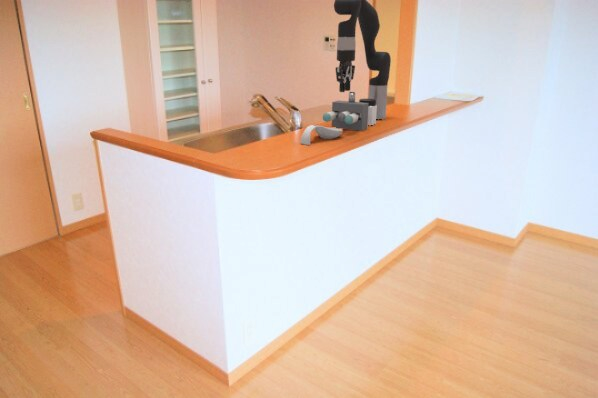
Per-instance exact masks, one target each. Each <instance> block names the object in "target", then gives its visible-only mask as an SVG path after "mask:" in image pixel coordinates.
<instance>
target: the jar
mask: <svg viewBox="0 0 598 398" xmlns="http://www.w3.org/2000/svg"><path fill="white" fill-rule="evenodd" d="M358 102H362V103H369V104H368V124H367V125H373V126H375V125H374V124H376V125H377V120H376V114H377V105H376V99H368V98H360V99H359V100H358ZM360 115H361V114H360ZM360 118H361V117H360Z"/></svg>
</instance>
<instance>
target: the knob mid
mask: <svg viewBox="0 0 598 398" xmlns="http://www.w3.org/2000/svg"><path fill="white" fill-rule="evenodd" d="M347 115H350V112H348V111H345V112H342V113H339V114H338V120H339V121H341V122H343V121H345V117H346V116H347Z"/></svg>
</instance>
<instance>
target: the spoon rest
mask: <svg viewBox="0 0 598 398" xmlns="http://www.w3.org/2000/svg"><path fill="white" fill-rule="evenodd" d="M313 131H315V132H316V134H317V135H318V136H319V137H320V138H321V139H323V140H334V139H336V138H338V137H340V136H341V134H342V133H343V131H344V129H338V128H332V127H326V126H322V125H313V124H310V125H308V126H307V127H306V128H305V129H304V131H303V132H302V135H301V137H300V142H299V144H300V145H306V146H310V145H311V135H312V133H313Z"/></svg>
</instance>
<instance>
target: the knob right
mask: <svg viewBox="0 0 598 398" xmlns="http://www.w3.org/2000/svg"><path fill="white" fill-rule="evenodd" d="M360 117H361V115H360V114H358V115H357V114H355V113H353V114H350V115H347V116H346V117H345V122H346V123H347V124H352V123H355V122H357V120H358V118H360Z"/></svg>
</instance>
